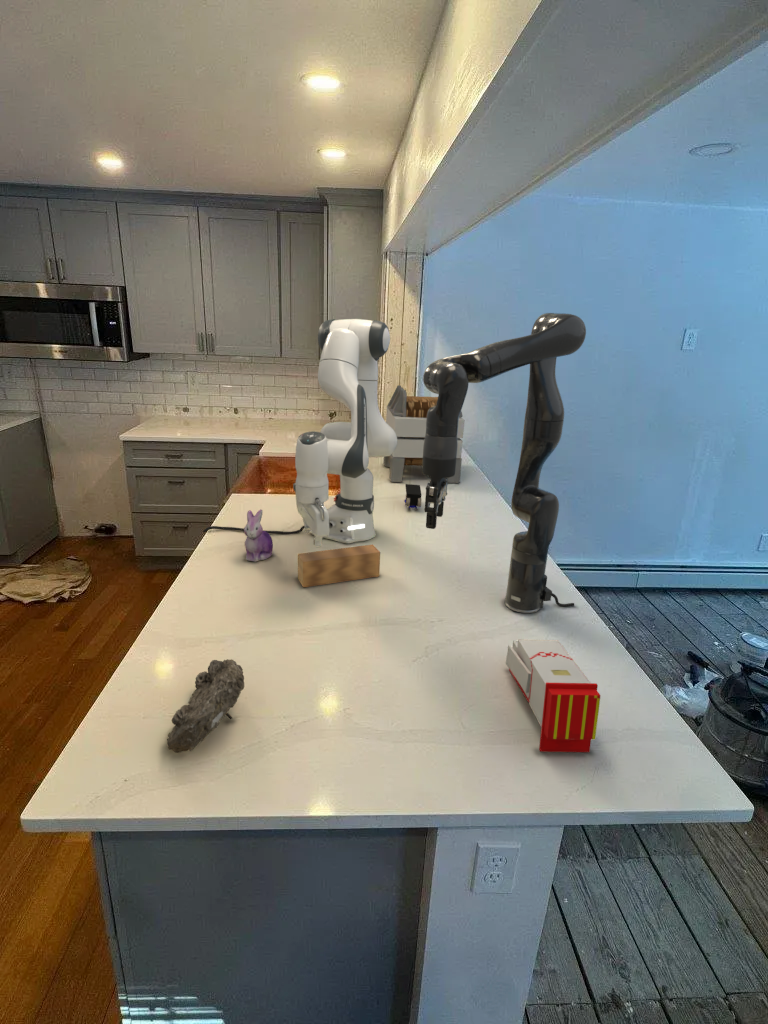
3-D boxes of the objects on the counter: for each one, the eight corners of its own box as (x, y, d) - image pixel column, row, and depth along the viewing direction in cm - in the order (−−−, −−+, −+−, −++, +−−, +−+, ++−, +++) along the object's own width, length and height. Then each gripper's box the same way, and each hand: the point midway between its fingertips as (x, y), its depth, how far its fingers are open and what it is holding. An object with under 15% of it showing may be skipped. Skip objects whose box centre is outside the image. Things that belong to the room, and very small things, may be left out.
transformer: (382, 463, 289) (386, 382, 275) (445, 464, 293) (451, 384, 279) (390, 482, 257) (394, 392, 243) (460, 483, 261) (468, 394, 247)
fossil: (192, 660, 117) (244, 628, 112) (224, 691, 120) (276, 661, 115) (142, 746, 98) (202, 712, 93) (182, 779, 101) (242, 748, 96)
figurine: (248, 564, 171) (246, 518, 166) (239, 551, 179) (237, 507, 174) (278, 559, 175) (277, 514, 170) (269, 547, 183) (267, 503, 178)
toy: (554, 622, 128) (610, 691, 98) (548, 677, 130) (601, 759, 101) (501, 621, 127) (541, 690, 98) (496, 676, 130) (534, 758, 101)
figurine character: (422, 515, 222) (419, 499, 235) (423, 498, 218) (420, 482, 232) (404, 515, 222) (403, 499, 235) (406, 497, 218) (404, 482, 232)
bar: (303, 587, 159) (303, 562, 156) (297, 578, 164) (297, 553, 161) (379, 576, 168) (380, 552, 165) (371, 568, 173) (372, 544, 170)
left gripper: (335, 504, 146) (335, 552, 151) (313, 480, 164) (313, 524, 169) (311, 507, 144) (312, 556, 149) (291, 482, 161) (292, 526, 166)
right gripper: (451, 463, 119) (444, 535, 124) (461, 448, 132) (455, 514, 137) (416, 459, 121) (411, 530, 126) (429, 445, 134) (425, 510, 139)
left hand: (312, 539), depth 159 cm, fingers open, 8 cm apart
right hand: (434, 521), depth 132 cm, fingers open, 8 cm apart
